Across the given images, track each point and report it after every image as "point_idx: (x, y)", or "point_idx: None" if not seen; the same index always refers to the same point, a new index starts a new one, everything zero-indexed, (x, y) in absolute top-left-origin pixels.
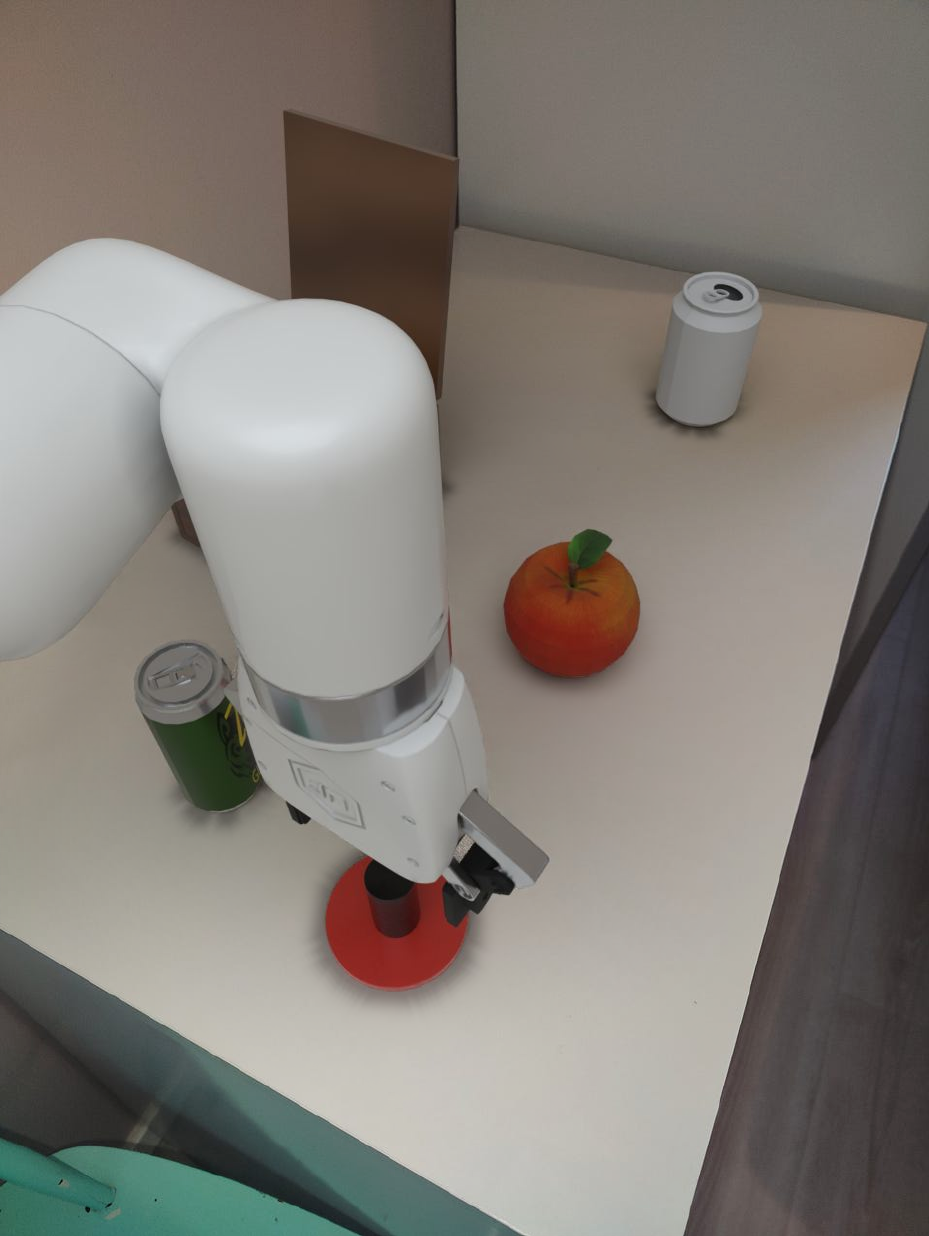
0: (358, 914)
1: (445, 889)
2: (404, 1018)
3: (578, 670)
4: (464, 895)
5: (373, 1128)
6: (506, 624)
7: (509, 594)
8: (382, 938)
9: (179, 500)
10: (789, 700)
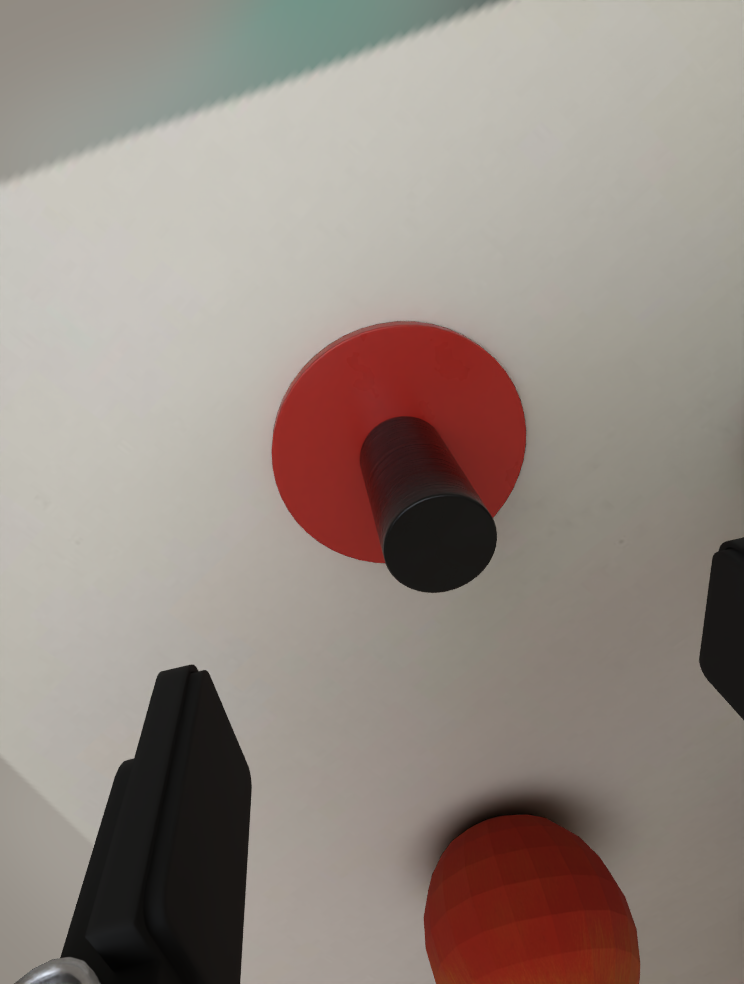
0: (454, 409)
1: (134, 930)
2: (256, 344)
3: (456, 880)
4: (54, 972)
5: (129, 155)
6: (591, 872)
7: (623, 929)
8: (389, 412)
9: None
10: None
